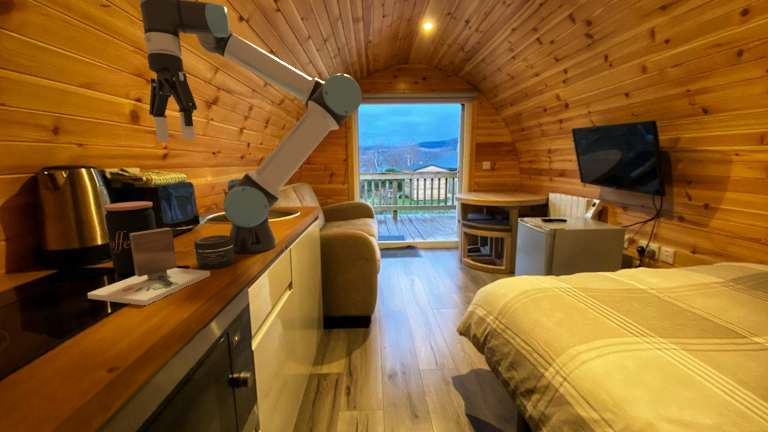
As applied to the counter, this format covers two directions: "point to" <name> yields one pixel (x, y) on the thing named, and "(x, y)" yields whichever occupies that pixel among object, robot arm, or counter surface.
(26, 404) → the counter surface
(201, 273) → the plate
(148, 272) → the brown upright panel
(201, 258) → the jar
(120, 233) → the coffee jar
